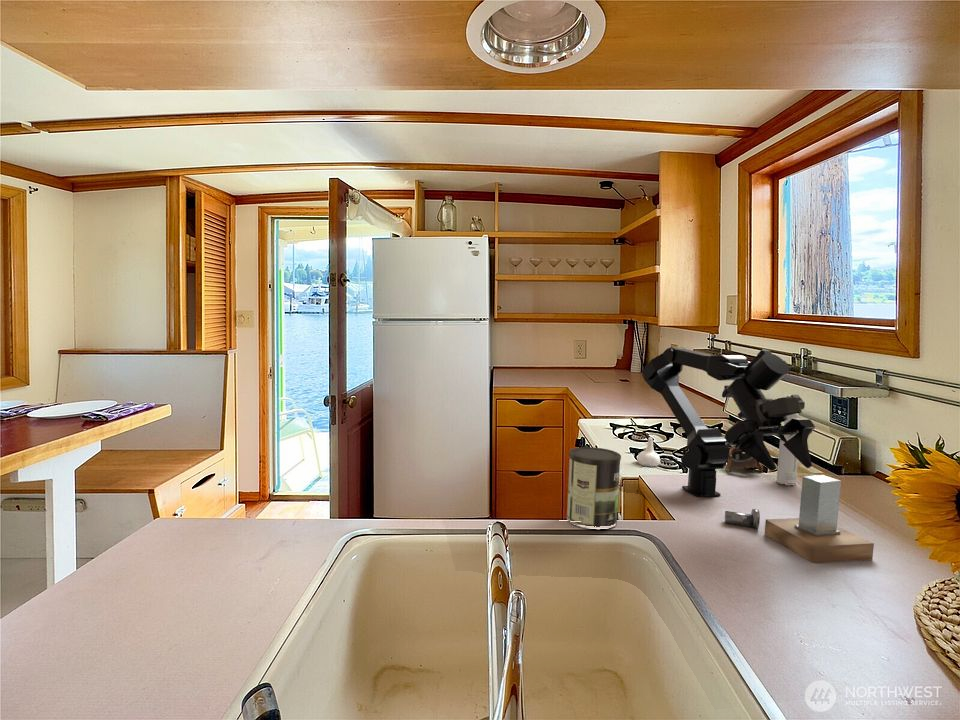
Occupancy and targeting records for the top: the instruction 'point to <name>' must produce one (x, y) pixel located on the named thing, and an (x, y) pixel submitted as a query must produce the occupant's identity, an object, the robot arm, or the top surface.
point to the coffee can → (593, 486)
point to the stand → (819, 542)
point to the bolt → (743, 518)
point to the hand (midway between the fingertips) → (792, 468)
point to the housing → (819, 505)
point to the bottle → (787, 461)
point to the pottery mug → (741, 460)
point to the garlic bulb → (649, 456)
